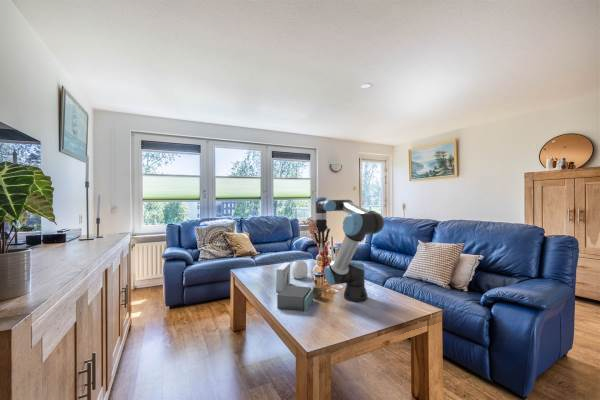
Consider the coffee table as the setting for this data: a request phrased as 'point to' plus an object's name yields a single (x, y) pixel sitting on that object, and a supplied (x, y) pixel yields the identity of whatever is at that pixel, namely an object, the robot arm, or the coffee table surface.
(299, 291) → the player housing
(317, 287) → the walnut block
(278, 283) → the skincare box
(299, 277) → the cup
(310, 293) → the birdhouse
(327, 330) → the coffee table surface
